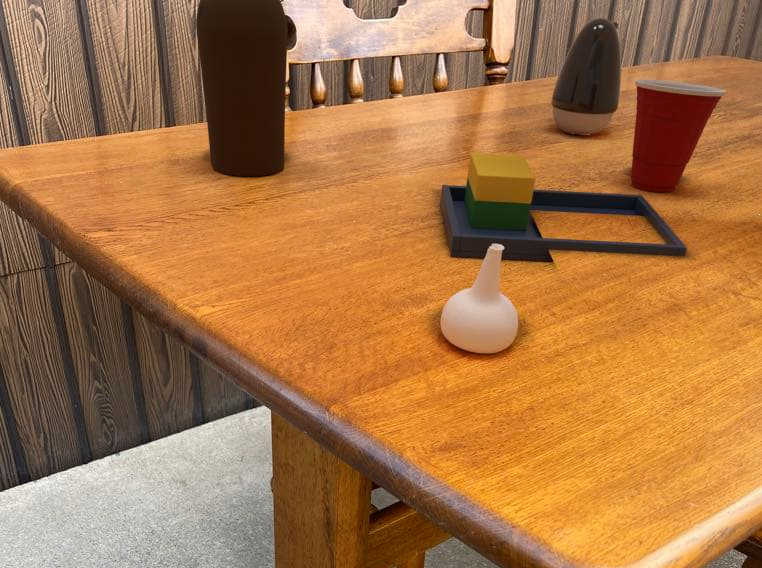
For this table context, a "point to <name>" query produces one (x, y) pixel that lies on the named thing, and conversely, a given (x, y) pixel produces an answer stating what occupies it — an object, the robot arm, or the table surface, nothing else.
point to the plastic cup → (668, 130)
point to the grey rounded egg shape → (589, 80)
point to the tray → (536, 247)
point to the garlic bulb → (481, 311)
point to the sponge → (499, 191)
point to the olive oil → (244, 83)
